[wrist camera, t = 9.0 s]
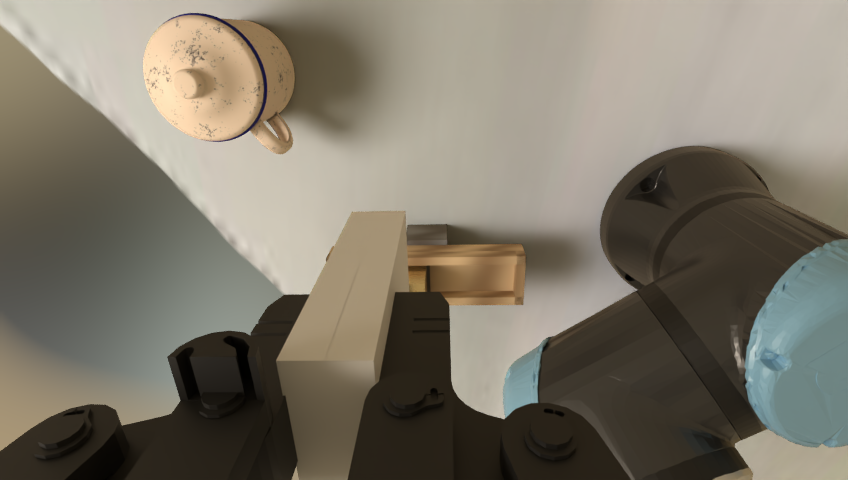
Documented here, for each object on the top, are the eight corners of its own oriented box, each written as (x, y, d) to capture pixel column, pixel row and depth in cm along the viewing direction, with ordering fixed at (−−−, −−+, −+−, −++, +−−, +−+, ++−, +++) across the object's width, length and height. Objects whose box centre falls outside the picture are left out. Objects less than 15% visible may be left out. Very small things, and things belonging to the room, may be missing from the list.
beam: (515, 223, 48) (526, 251, 41) (512, 275, 50) (522, 309, 44) (340, 226, 48) (325, 253, 42) (346, 277, 51) (332, 310, 45)
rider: (426, 263, 43) (424, 293, 38) (427, 289, 45) (425, 322, 39) (383, 263, 44) (375, 293, 39) (385, 289, 45) (378, 322, 40)
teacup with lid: (178, 61, 42) (89, 70, 32) (248, -7, 40) (178, -22, 29) (270, 165, 46) (218, 205, 35) (339, 109, 44) (306, 133, 33)
